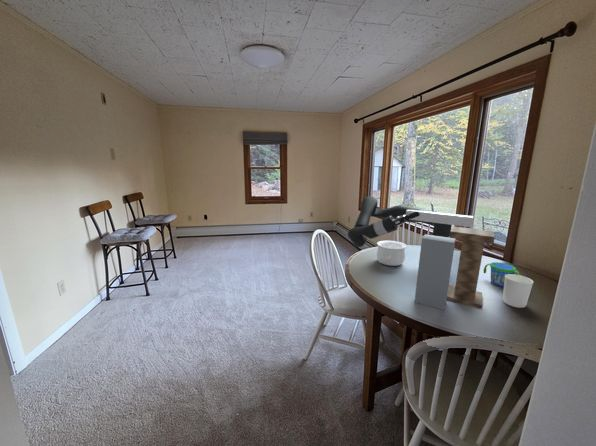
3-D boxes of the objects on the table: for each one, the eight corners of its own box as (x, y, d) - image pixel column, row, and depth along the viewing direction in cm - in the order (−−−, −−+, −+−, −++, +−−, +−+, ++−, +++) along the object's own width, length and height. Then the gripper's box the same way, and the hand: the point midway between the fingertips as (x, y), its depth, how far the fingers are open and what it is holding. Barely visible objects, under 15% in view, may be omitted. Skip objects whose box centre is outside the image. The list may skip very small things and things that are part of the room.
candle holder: (494, 298, 124) (499, 274, 121) (514, 297, 125) (519, 273, 122) (513, 309, 114) (518, 283, 112) (534, 308, 115) (539, 283, 113)
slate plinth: (414, 301, 120) (422, 238, 113) (417, 294, 126) (425, 234, 120) (444, 310, 113) (454, 243, 107) (446, 302, 120) (455, 238, 113)
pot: (384, 255, 180) (385, 238, 178) (410, 261, 169) (412, 243, 167) (369, 264, 164) (370, 245, 162) (396, 271, 153) (398, 251, 150)
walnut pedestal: (440, 297, 123) (450, 231, 116) (443, 286, 135) (452, 225, 128) (481, 308, 115) (494, 237, 108) (481, 295, 126) (493, 230, 119)
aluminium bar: (405, 219, 123) (406, 210, 122) (407, 217, 126) (408, 209, 125) (471, 227, 109) (473, 217, 108) (471, 225, 112) (473, 216, 111)
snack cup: (522, 288, 134) (526, 269, 132) (511, 292, 130) (515, 273, 127) (489, 276, 148) (492, 259, 146) (477, 280, 143) (481, 262, 141)
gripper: (377, 221, 125) (412, 207, 115) (386, 216, 137) (419, 203, 127) (384, 236, 125) (420, 222, 115) (392, 230, 136) (426, 217, 126)
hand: (419, 212), depth 121 cm, fingers closed on aluminium bar, 4 cm apart
